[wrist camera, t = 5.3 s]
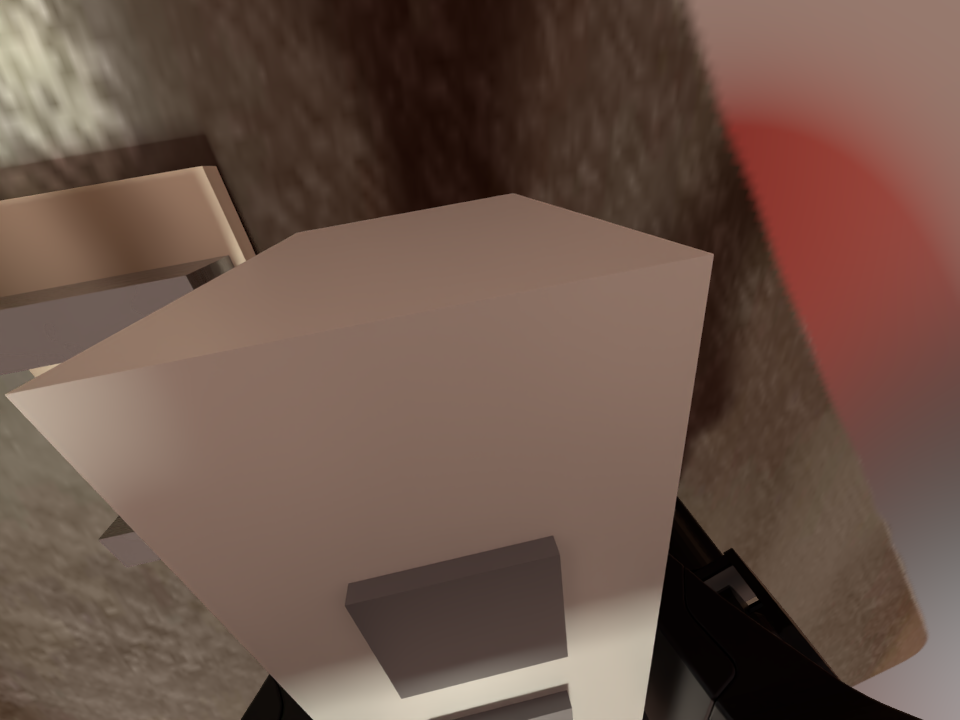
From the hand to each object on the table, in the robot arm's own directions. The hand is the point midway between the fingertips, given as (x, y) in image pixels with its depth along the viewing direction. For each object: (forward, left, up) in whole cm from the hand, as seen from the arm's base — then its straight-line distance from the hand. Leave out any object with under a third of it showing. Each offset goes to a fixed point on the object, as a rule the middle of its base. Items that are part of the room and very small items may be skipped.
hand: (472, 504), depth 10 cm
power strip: (0, 0, -2) cm, 2 cm away
